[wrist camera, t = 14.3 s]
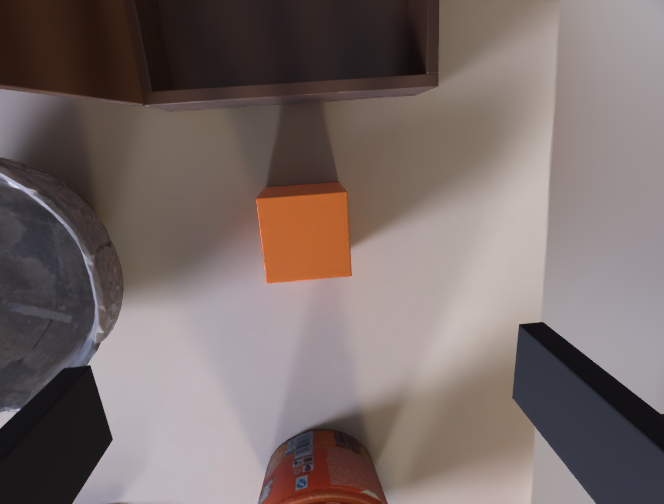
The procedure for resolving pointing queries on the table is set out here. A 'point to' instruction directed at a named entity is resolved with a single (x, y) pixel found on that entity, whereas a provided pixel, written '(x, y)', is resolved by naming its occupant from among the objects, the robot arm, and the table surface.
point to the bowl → (50, 282)
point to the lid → (68, 50)
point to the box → (281, 50)
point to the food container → (321, 472)
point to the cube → (304, 232)
